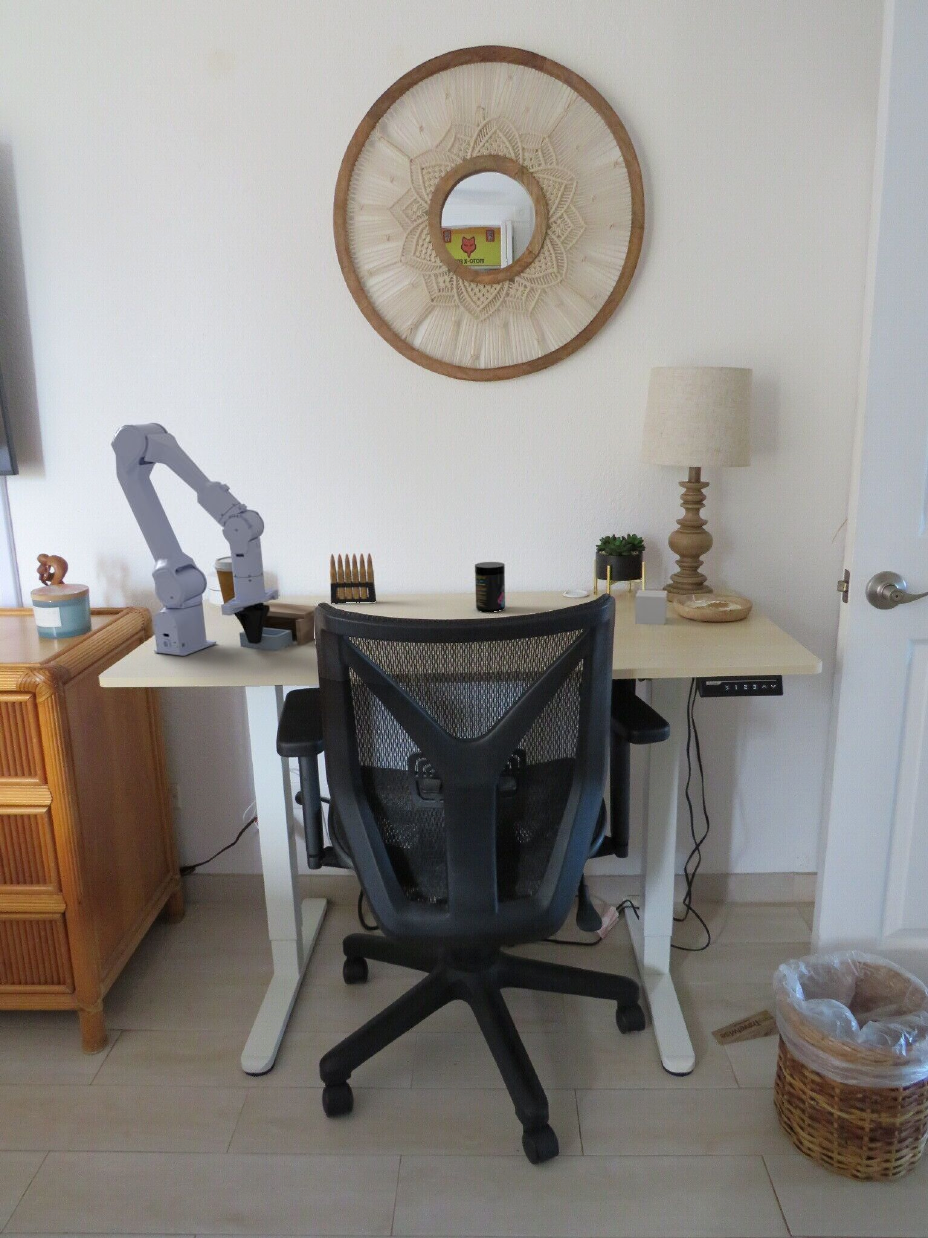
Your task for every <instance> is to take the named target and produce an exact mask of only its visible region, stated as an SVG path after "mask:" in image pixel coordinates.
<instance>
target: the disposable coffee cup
mask: <svg viewBox="0 0 928 1238" xmlns="http://www.w3.org/2000/svg"><path fill="white" fill-rule="evenodd" d="M213 568H214V569H215V571H216V575H217V580H218V585H219V589H220V591H221V597H222V602H223V604H225V603H227V602H229V601H230V600H232V599H233V598H235V591H234V581H233V570H232V560H231V555H229V556H228V555H227V556H221V557H219V558H216V559H214V565H213Z"/></svg>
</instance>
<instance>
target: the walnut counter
mask: <svg viewBox="0 0 928 1238" xmlns="http://www.w3.org/2000/svg"><path fill="white" fill-rule="evenodd" d="M263 605H269V607H270V611H269V612H268V614H267V617H266V619H265V622H264V626H263V628H272V629H281V630H291V631H292V634H295V633H297V634H296V642H297V646H303V645H306V644H307V642H308V643H310V642H313V641H314V609H315V607H316V605H307V604H306V605H304V604H295V603H294V604H293V603H284V602H283V603H282V602H273V601H272V602H271V601H268V602H265V603H263Z"/></svg>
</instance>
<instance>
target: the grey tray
mask: <svg viewBox="0 0 928 1238" xmlns="http://www.w3.org/2000/svg"><path fill="white" fill-rule="evenodd" d="M238 634H239V642H240V647H244V648H253V649H260V650H261V649H262V650H269V651H280V650H282V649H284V648H286V647H289V646H291V645H293V633H292V631H291V630H281V629H272V628H263V631H262V638H261V642H260V643H258V644H252V643H249V642H248V640H247V637H246V634H245V632H244V630H242V631H241V632H239V633H238ZM288 645H289V646H288Z"/></svg>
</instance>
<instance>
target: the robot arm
mask: <svg viewBox="0 0 928 1238" xmlns="http://www.w3.org/2000/svg"><path fill="white" fill-rule="evenodd" d="M110 446H111V448H112V451H113V452H114V455H115V471H116V474H115V475H116V478H117V481H118V483H119V485H120V488H121V490H122V491H123V493H124V496H125V498H126V500H127V502H128V505H129V507H130V509H131V511H132V514H133V515H134V518H135V521H136V523H137V525H138V527H139V528H140V531H141V533H142V534H141V535H142V536H143V538H144V540H145V542H146V545H147V546H148V549H149V551H150V553H151V555H152V558H153V559H154V562H155V563H154V566H153V569H152V572H151V577H152V578H153V581H154V592H155V595H156V598H157V599H158V601H159V602H160V603H161V604H163V605H162V606H163V608H162V609H161V610H160V611H158V612H157V613H156V614H155V615H154V617H153V629H154V637H155V644H156V646H155V647H156V648H154V649H153V652H154V653H159V654H165V655H166V654H167V655H175V656H182V657H183V656H184V657H185V656H188V655H190V654H193V653H196V652H198V651H200V650H203V649H206V648H208V647H211V646H213V645H216V644H217V641H216V640H211V639H207V633H206V624H205V623H206V622H205V614H204V613H205V612H204V605H203V594H204V593H205V591H206V590H207V587H208V581H207V577H206V575H205V573H204V572H203V571H202V570H201V569H200V568H199V567H198V566H197V564H196V563H195V561H194V559H193V558H192V557H190V556H189V555H188V554H187V553H185V552H183V549H182V547H181V546H180V543H179V541H178V539H177V536H176V534H175V532H174V529H173V528H172V525H171V522H170V520H169V519H168V516H167V513H166V511H165V509H164V507H163V505H162V503H161V500H160V498H159V496H158V493H157V492H156V490H155V487H154V484H153V483H152V480H151V478H150V476H151V474H152V471H153V470H154V467H155V465H156V464H162V465H165V466H166V467H167V468H169V470H171V471H172V472H173V473H174V474H175V475H176V476H177V477H179V479H181V480H182V481H183V482H184V483H185V484H187V486H189V488H191V489H192V490H193V491H194V492H195V493H196V498H197V499H196V500H197V503H198V504H199V505H200V507H202V509H203V510H204V511H205V512H206V513H207V514H208V515H209V516H210V517H212V519H213V520H214V521H215V522H216V523H217V524H218V525H220V527H221V528H222V530H221V532H222V535H223V537H224V539H225V540H226V541H227V543H228V544H229V550H230V556H231V560H232V570H233V581H234V591H235V598H233V599H232V600H230V601H229V602H227V603H225V604H224V603H223V604H221V608H220V609H221V615H222V616H235V617H236V619H237V620H238V621H239V623H240V625H241V627H242V629H243V631H244V632H245V634H246V637H247V640H248V642H249V643H252V644H258V643H260V642H261V638H262V631H263V626H264V622H265V619H266V617H267V614H268V612H269V611H270V607H269V605H263V603H266V602H271V601H277V600H279V593H278V592H279V591H278V589H276V588H275V589H274V588H269V589H266V588H265V587H266V586H265V575H264V574H265V573H264V564H263V556H262V555H263V553H262V541H261V536H262V535H263V533H264V530H265V522H264V520H263V518H262V515H260V513H259V512H258V511H257V510H254V509H250V508H249V509H248V506H247V505H246V504H245V503H241V502H240V501H239V500H238V499H237V497H235V495H233V494H232V492H231V491H230V490H231V488H230V486H229V485H227V483H222V482H221V481H218V480H217V481H215V480H214V481H212V480H210V479H209V477H208V476H206V474H205V473H204V472H203V471H202V470H201V469H200V467H199V466H197V464H196V463H195V462H194V461H193V460H192V458H191V457H190V456H189V455H188V454H187V452H185V450H184V449H183V448H182V447H181V446H180V444H179V443H178V440H177V439H176V437H175V436H174V435H173V434H172V433H170V432H168V430H167V429H166V427H165V426H164V425H162V424H160V423H157V422H149V423H142V424H131V423H128V424H123V425H121V426H120V427H118V429H117V430H116V432H115V434H114V436H113V438H112V441H111V443H110Z"/></svg>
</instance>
